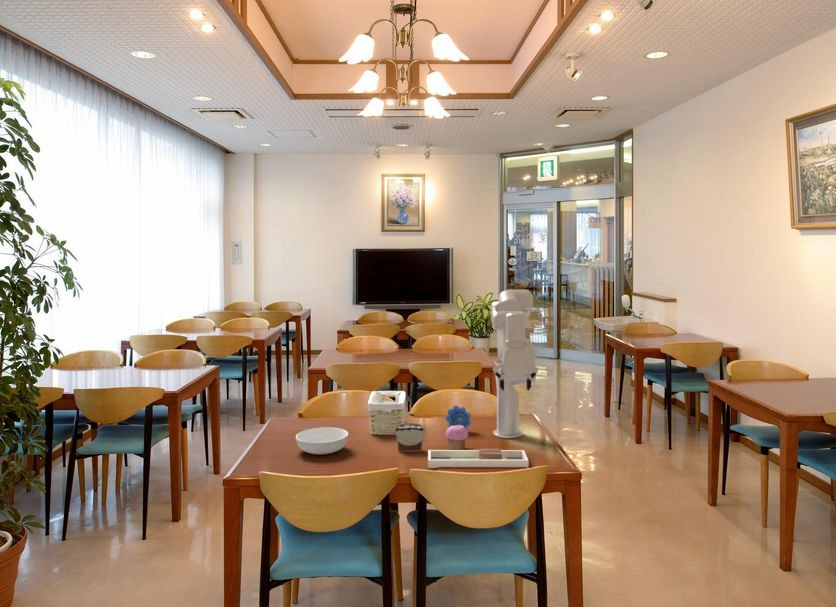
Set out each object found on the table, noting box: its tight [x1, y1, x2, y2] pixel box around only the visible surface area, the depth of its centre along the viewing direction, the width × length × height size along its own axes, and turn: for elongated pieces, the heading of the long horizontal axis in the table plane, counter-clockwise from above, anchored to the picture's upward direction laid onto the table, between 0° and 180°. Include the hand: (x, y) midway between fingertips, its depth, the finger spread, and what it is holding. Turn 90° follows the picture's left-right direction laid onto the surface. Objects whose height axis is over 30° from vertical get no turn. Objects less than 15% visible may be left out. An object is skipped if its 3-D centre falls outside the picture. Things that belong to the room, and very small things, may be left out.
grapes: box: [445, 405, 472, 431], centre depth 282 cm, size 12×7×12 cm, turn 102°
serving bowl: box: [295, 426, 349, 456], centre depth 258 cm, size 21×21×7 cm
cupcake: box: [445, 425, 469, 450], centre depth 258 cm, size 9×9×10 cm
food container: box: [394, 422, 426, 452], centre depth 260 cm, size 12×6×10 cm, turn 92°
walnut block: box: [478, 448, 502, 459], centre depth 242 cm, size 6×8×4 cm
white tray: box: [427, 449, 530, 469], centre depth 243 cm, size 12×37×3 cm, turn 89°
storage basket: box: [367, 390, 407, 436], centre depth 290 cm, size 24×16×15 cm
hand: (515, 389), depth 245 cm, fingers open, 9 cm apart
